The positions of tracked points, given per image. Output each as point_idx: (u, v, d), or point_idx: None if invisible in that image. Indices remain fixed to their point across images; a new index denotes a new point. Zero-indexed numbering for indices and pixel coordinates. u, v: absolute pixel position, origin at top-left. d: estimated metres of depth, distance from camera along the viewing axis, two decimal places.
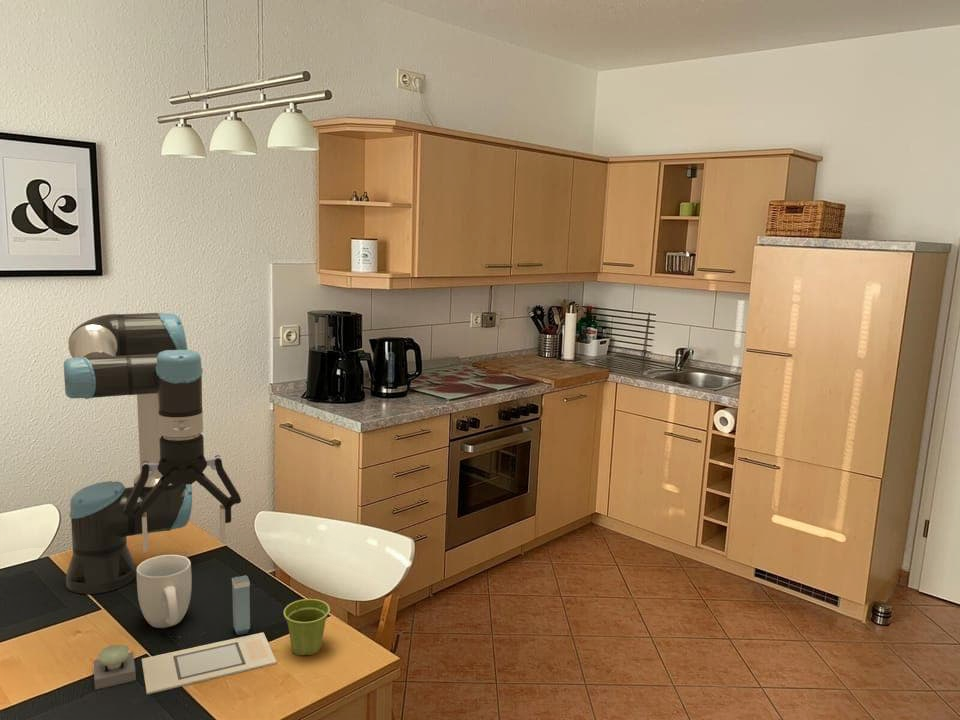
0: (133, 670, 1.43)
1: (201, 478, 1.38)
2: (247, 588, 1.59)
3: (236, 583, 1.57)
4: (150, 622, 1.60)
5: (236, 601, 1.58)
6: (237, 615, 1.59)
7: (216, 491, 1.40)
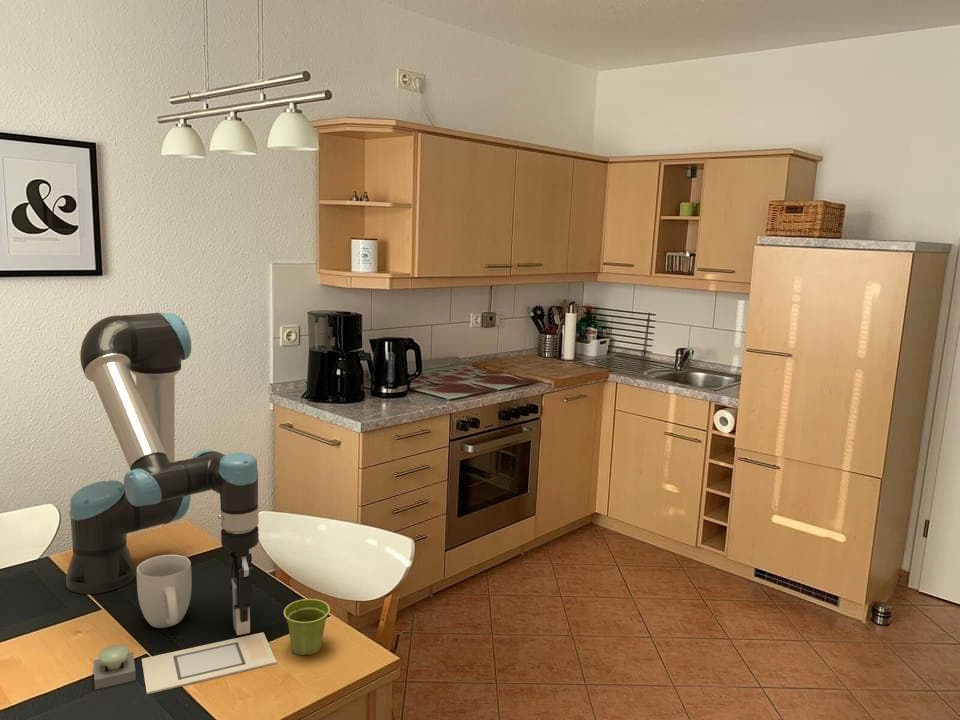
0: (133, 670, 1.43)
1: (234, 571, 1.56)
2: None
3: None
4: (150, 622, 1.60)
5: (236, 601, 1.58)
6: None
7: (237, 589, 1.57)
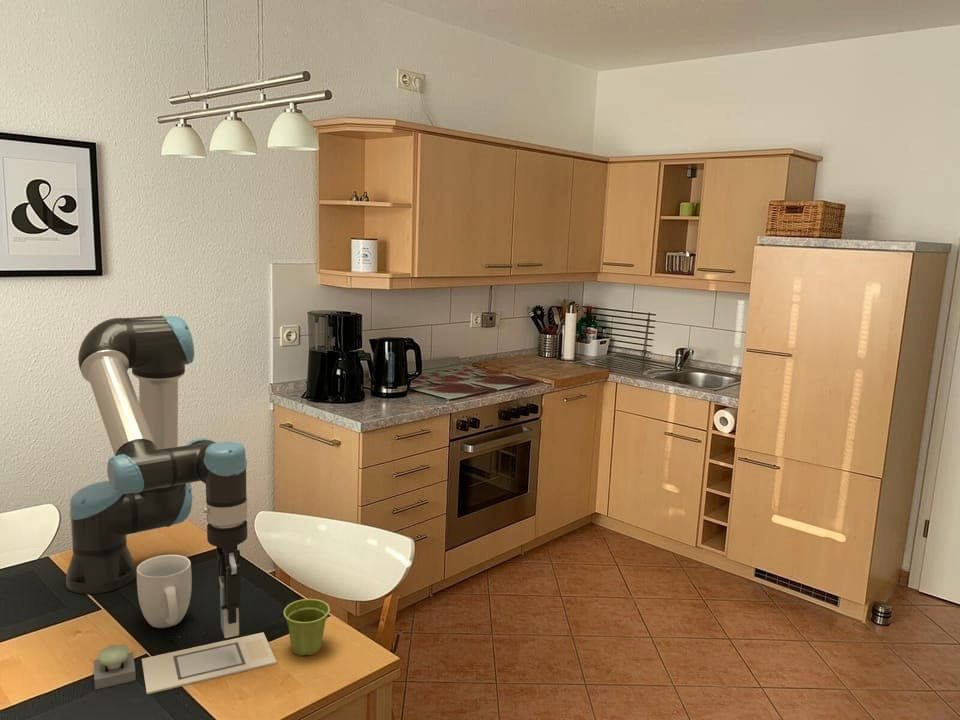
0: (133, 670, 1.43)
1: (221, 569, 1.45)
2: None
3: None
4: (150, 622, 1.60)
5: (224, 601, 1.47)
6: None
7: (224, 588, 1.46)
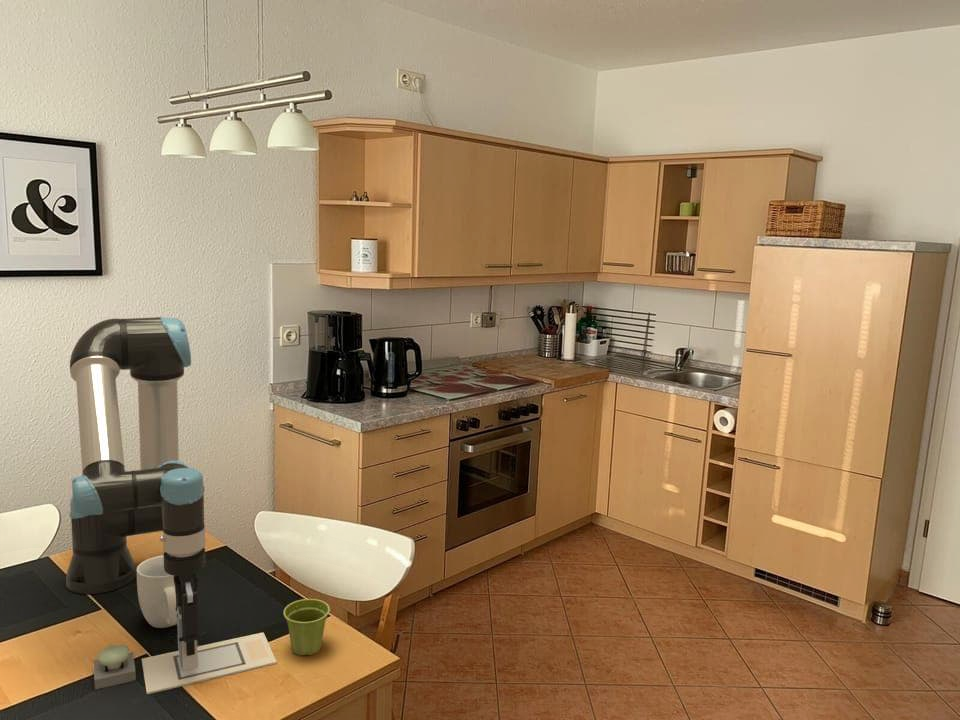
0: (133, 670, 1.43)
1: (177, 598, 1.42)
2: None
3: None
4: (150, 622, 1.60)
5: (181, 633, 1.45)
6: None
7: (182, 619, 1.42)
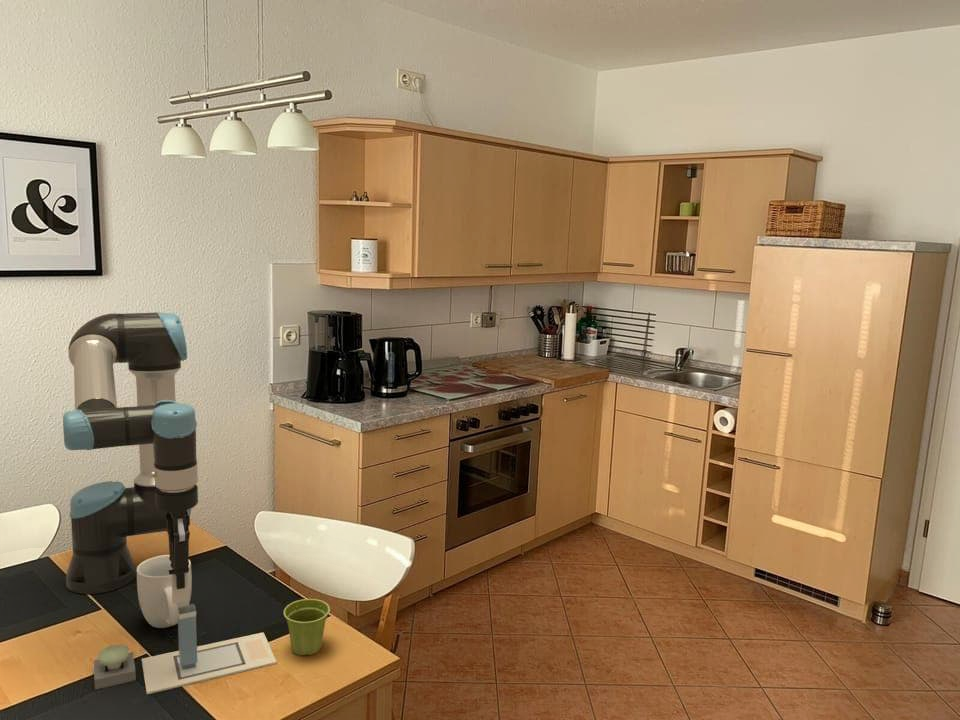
0: (133, 670, 1.43)
1: (169, 535, 1.40)
2: (193, 618, 1.45)
3: (181, 613, 1.44)
4: (150, 622, 1.60)
5: (181, 633, 1.45)
6: (182, 648, 1.45)
7: (173, 554, 1.41)
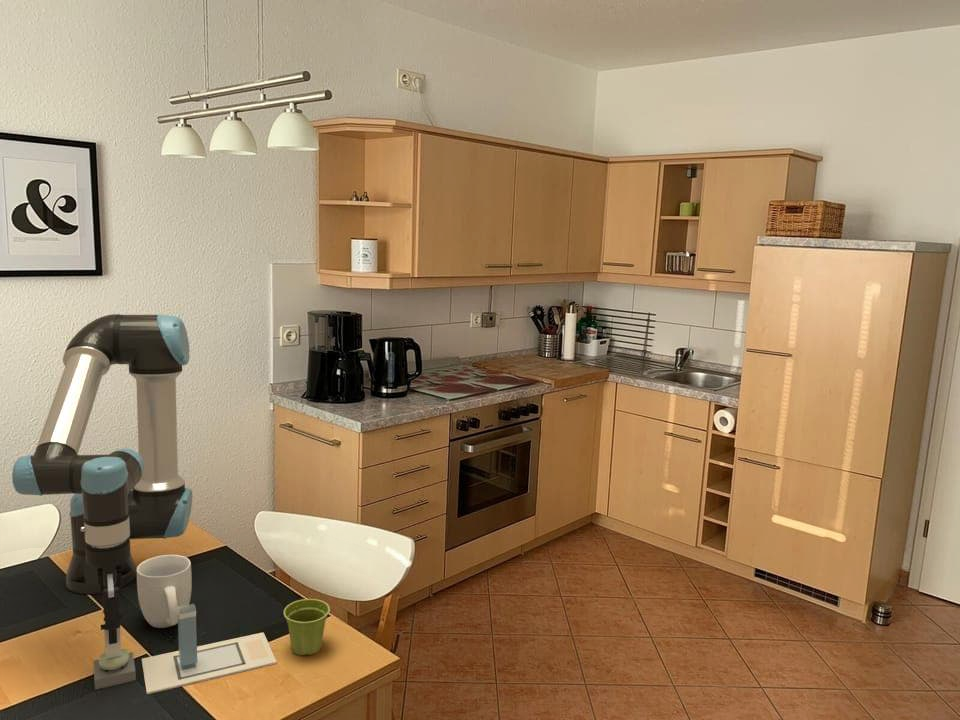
0: (133, 670, 1.43)
1: (100, 590, 1.39)
2: (193, 618, 1.45)
3: (181, 613, 1.44)
4: (150, 622, 1.60)
5: (181, 633, 1.45)
6: (182, 648, 1.45)
7: None
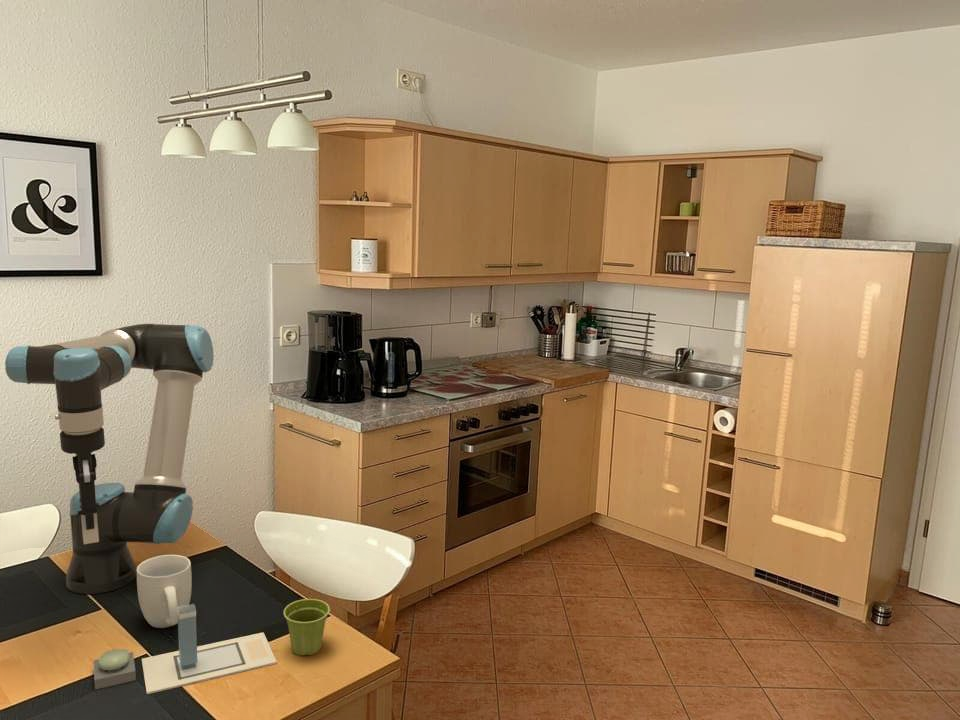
0: (133, 670, 1.43)
1: (76, 476, 1.43)
2: (193, 618, 1.45)
3: (181, 613, 1.44)
4: (150, 622, 1.60)
5: (181, 633, 1.45)
6: (182, 648, 1.45)
7: (80, 495, 1.44)
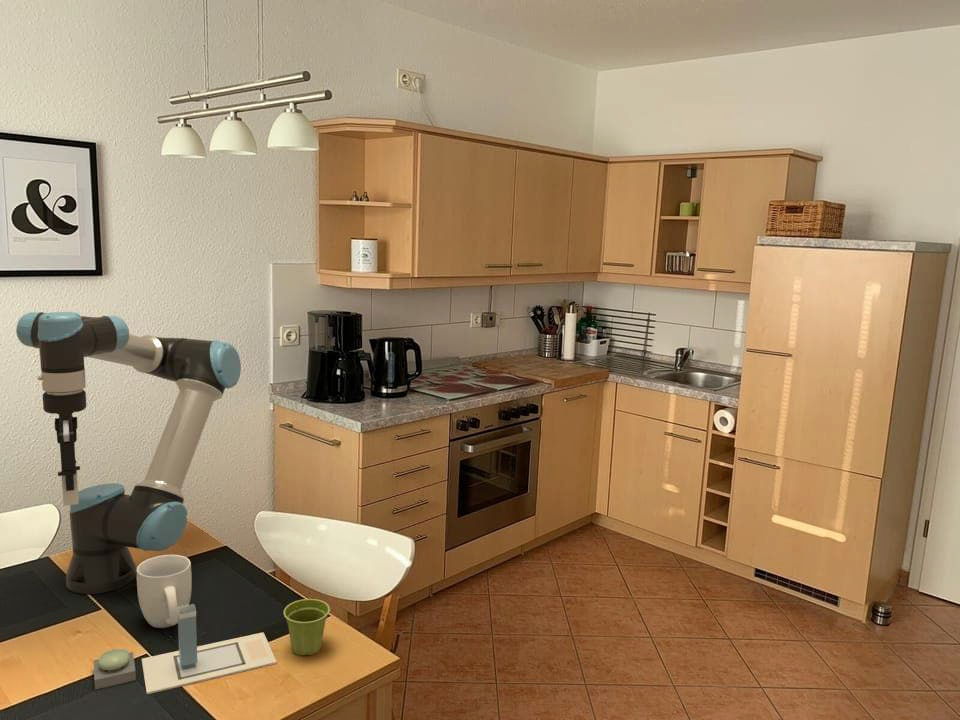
0: (133, 670, 1.43)
1: None
2: (193, 618, 1.45)
3: (181, 613, 1.44)
4: (150, 622, 1.60)
5: (181, 633, 1.45)
6: (182, 648, 1.45)
7: None
